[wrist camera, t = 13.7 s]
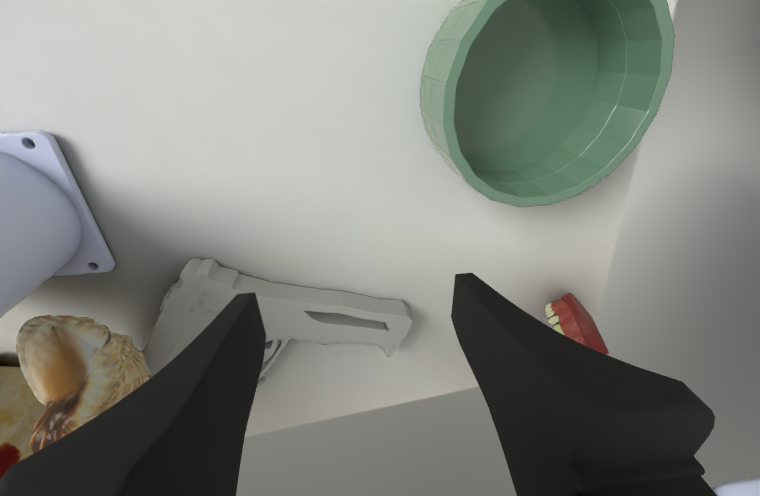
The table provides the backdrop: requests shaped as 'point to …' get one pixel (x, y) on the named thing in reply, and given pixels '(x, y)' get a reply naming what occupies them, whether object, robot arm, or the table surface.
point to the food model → (16, 417)
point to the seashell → (75, 371)
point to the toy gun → (272, 314)
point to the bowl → (544, 91)
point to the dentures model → (575, 322)
